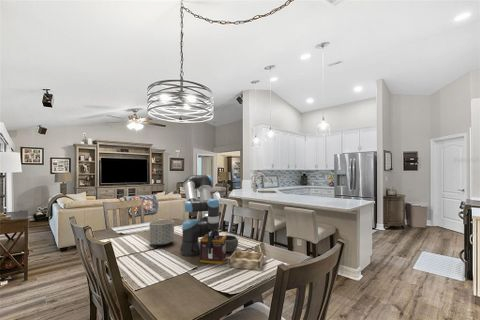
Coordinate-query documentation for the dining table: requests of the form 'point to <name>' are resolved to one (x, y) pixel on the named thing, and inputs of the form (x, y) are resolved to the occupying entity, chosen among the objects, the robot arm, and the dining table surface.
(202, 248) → the supplement box
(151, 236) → the planter
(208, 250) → the robot arm
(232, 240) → the bowl
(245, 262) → the crate
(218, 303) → the dining table surface
